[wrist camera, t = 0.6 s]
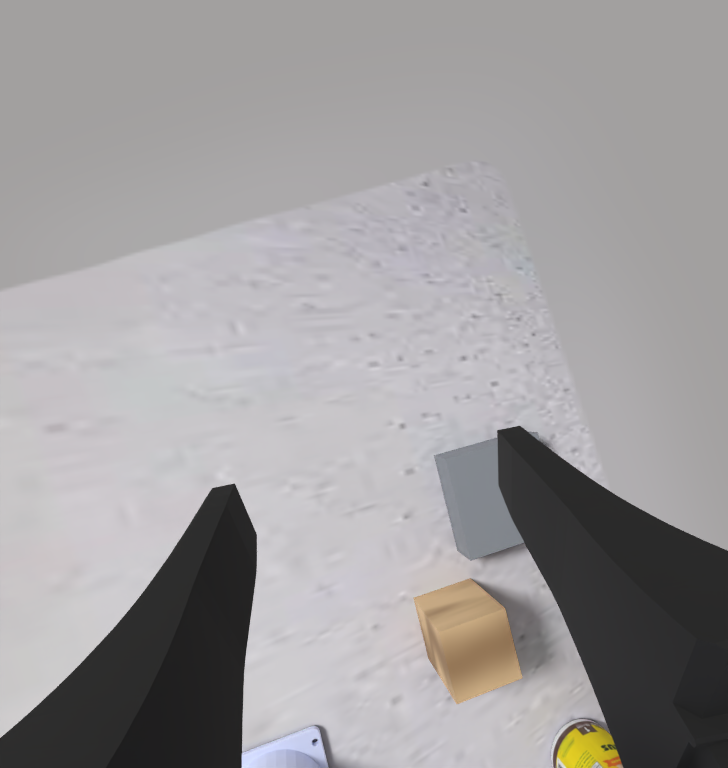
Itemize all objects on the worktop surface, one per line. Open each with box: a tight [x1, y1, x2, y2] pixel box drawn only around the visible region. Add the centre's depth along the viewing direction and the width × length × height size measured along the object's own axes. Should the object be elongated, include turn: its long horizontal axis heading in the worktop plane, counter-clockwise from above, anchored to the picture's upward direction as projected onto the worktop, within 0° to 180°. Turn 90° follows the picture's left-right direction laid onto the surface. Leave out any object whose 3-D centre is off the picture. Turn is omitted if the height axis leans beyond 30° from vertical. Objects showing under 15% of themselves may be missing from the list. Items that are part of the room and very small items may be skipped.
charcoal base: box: [434, 432, 540, 560], centre depth 38 cm, size 8×8×3 cm
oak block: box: [414, 578, 522, 704], centre depth 35 cm, size 5×5×6 cm
